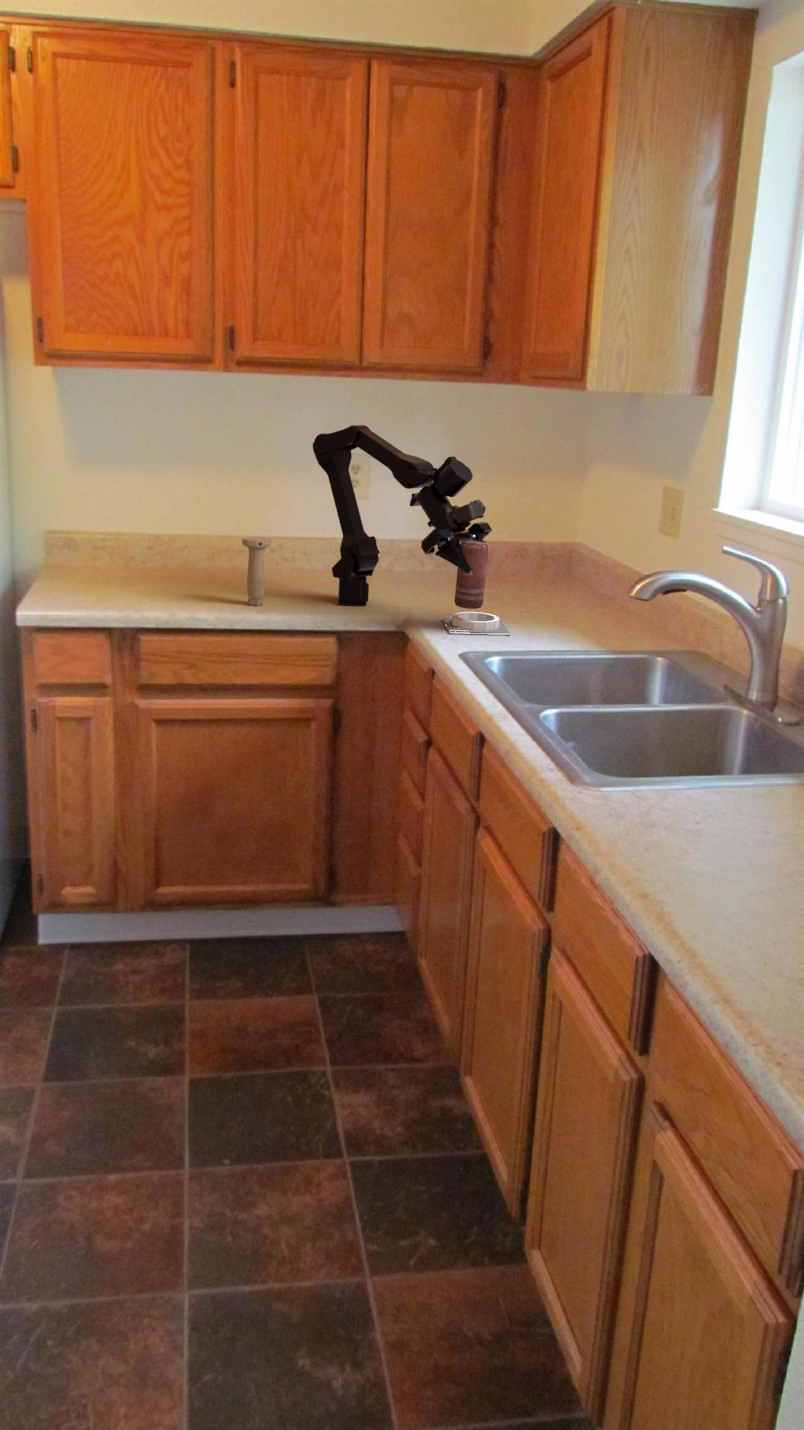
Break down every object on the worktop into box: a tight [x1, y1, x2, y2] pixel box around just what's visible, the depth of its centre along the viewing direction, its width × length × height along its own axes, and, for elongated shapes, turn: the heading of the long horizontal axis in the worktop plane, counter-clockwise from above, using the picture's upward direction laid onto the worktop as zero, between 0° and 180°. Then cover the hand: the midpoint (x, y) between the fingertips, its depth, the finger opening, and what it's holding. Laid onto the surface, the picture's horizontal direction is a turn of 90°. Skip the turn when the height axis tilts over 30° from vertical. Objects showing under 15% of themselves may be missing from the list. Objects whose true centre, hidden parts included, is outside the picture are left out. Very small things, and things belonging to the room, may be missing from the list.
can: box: [454, 539, 490, 610], centre depth 257 cm, size 6×6×14 cm
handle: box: [241, 536, 272, 607], centre depth 271 cm, size 5×6×15 cm
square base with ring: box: [441, 611, 510, 633], centre depth 262 cm, size 13×13×2 cm
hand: (477, 570), depth 256 cm, fingers closed on can, 5 cm apart
